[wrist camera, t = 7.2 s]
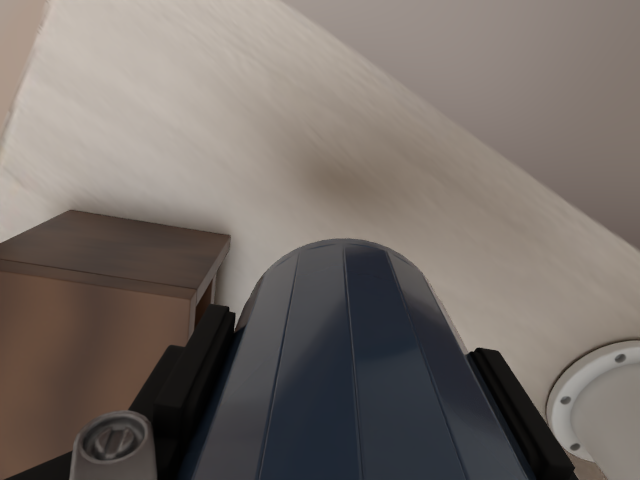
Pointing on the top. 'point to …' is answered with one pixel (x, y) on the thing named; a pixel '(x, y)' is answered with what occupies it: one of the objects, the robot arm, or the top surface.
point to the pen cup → (349, 380)
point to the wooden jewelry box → (91, 322)
